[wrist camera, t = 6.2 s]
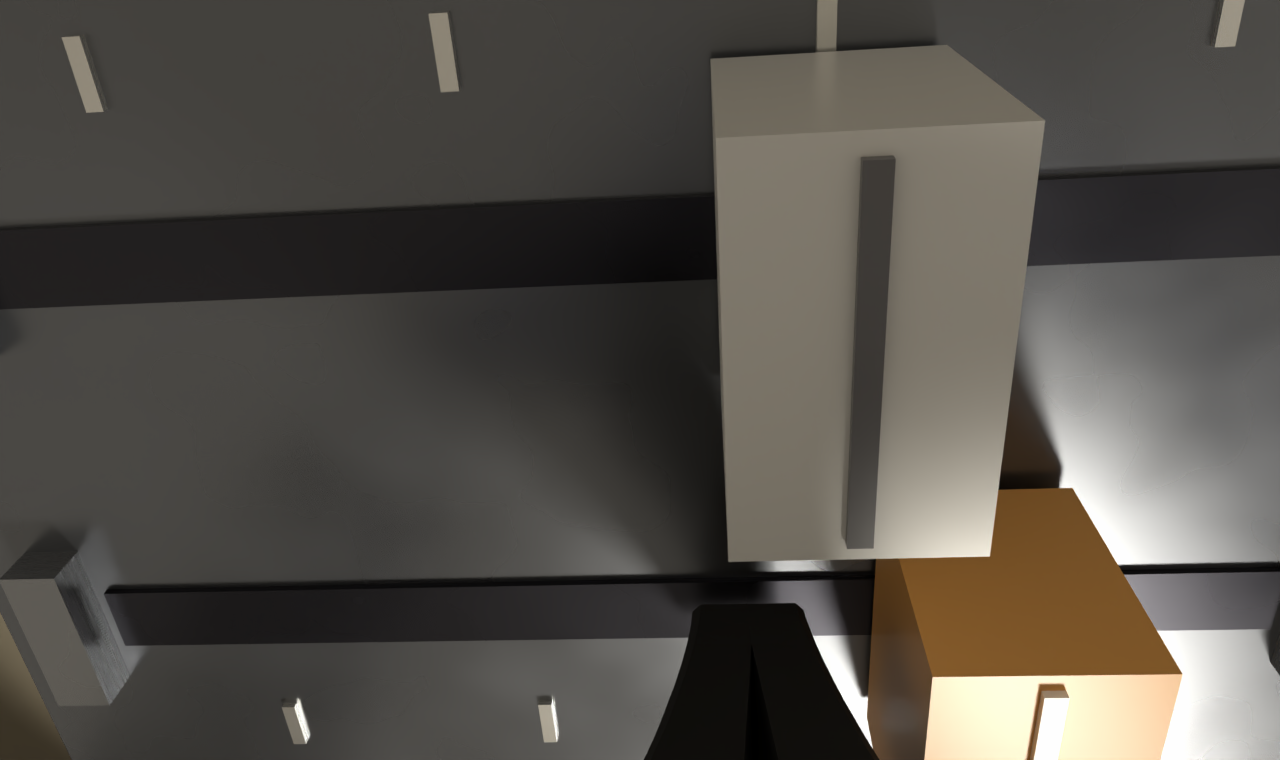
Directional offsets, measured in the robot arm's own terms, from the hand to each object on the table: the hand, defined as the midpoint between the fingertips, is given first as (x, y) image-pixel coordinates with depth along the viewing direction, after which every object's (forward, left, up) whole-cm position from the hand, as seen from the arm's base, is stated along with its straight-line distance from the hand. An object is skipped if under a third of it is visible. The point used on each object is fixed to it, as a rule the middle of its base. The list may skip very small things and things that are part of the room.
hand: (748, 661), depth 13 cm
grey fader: (-1, -5, -1) cm, 6 cm away
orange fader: (-3, 0, -1) cm, 3 cm away
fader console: (+1, -3, -2) cm, 4 cm away
